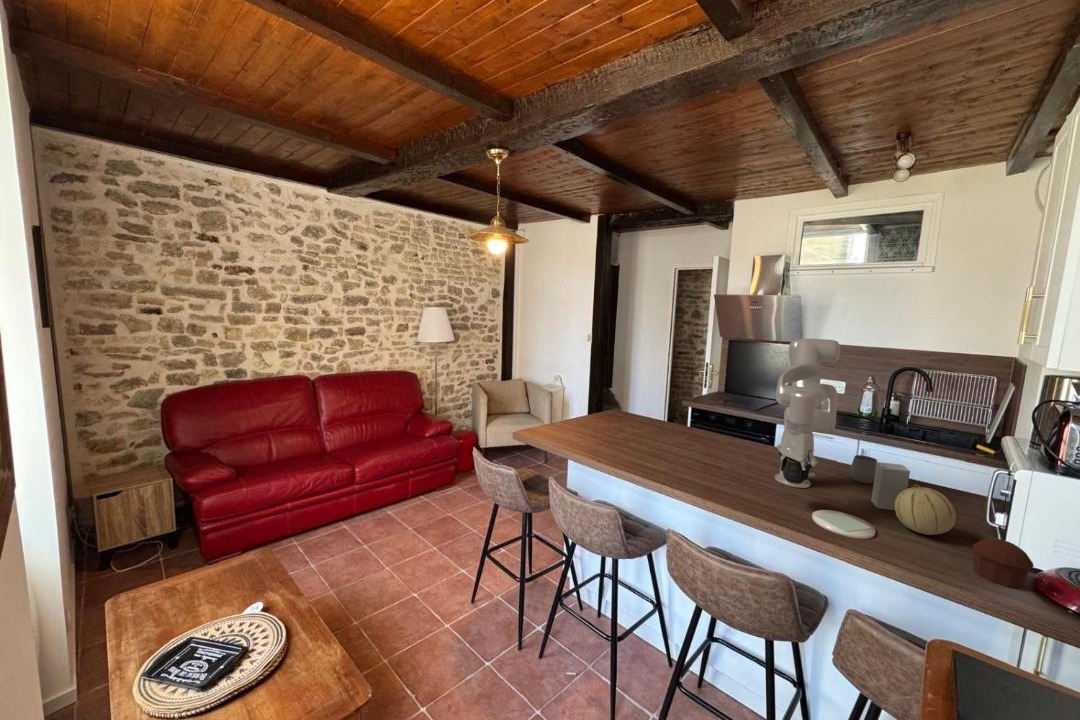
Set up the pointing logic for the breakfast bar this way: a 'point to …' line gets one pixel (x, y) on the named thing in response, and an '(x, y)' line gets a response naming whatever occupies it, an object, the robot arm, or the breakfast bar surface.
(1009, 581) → the muffin
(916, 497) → the cantaloupe
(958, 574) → the breakfast bar surface
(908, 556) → the breakfast bar surface
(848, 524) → the stand
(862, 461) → the cup
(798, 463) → the mate gourd
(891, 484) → the skincare box
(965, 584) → the breakfast bar surface
